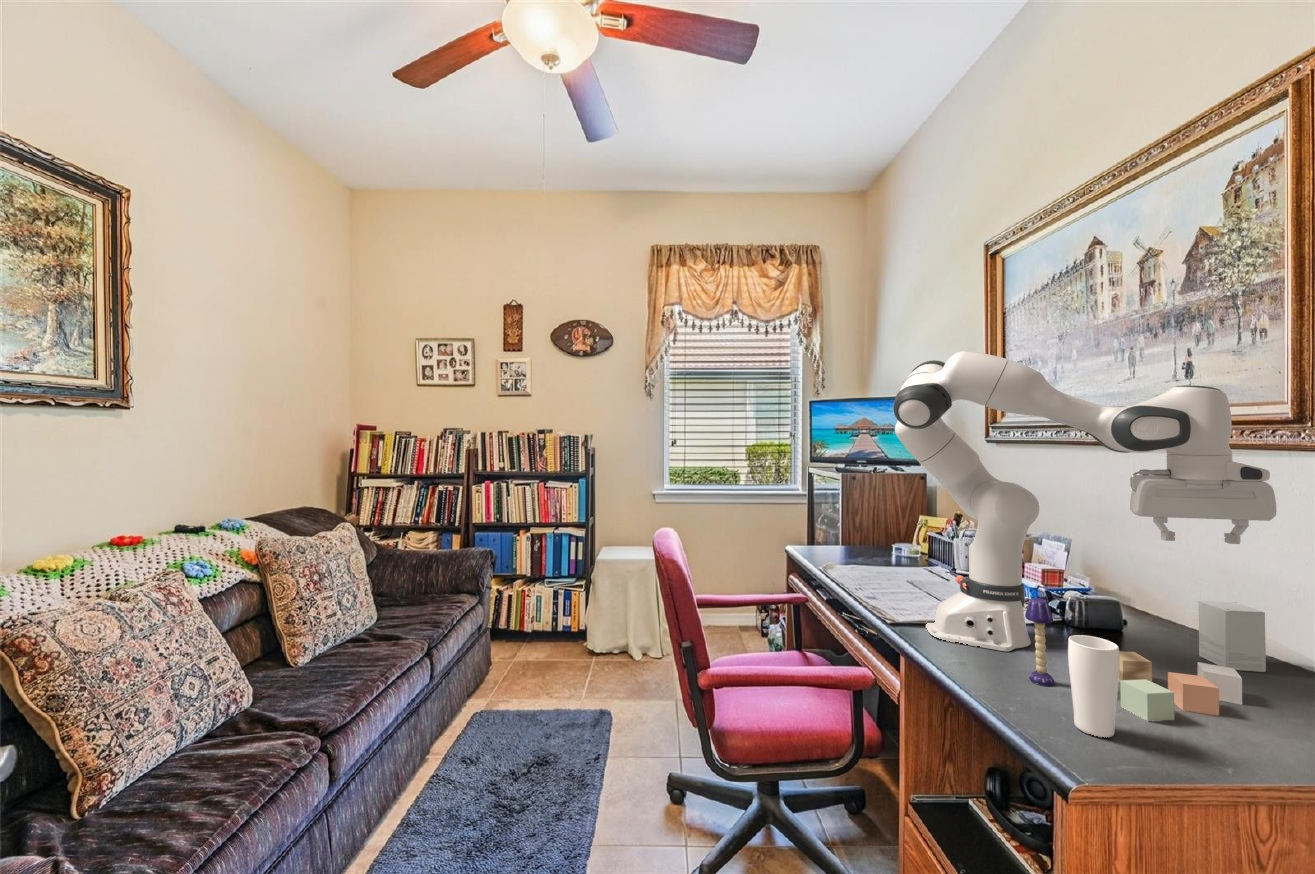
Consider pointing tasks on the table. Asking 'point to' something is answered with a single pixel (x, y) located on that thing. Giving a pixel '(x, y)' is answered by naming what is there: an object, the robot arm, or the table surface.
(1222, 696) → the grey block
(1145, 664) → the oak block
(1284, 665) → the table surface
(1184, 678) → the terracotta block
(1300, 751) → the table surface
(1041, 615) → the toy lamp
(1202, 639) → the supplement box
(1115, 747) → the table surface
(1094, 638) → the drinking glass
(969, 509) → the robot arm
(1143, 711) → the sage block
